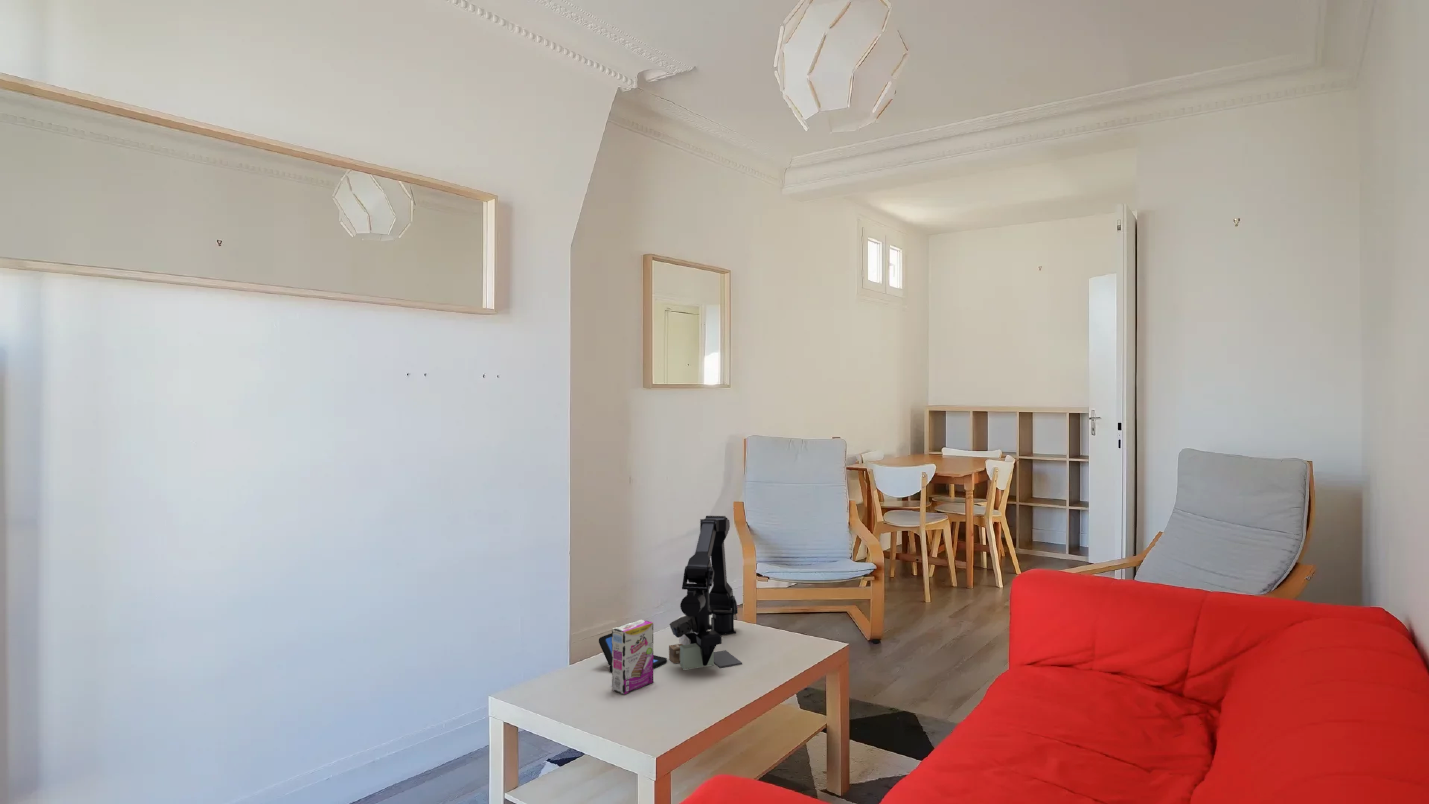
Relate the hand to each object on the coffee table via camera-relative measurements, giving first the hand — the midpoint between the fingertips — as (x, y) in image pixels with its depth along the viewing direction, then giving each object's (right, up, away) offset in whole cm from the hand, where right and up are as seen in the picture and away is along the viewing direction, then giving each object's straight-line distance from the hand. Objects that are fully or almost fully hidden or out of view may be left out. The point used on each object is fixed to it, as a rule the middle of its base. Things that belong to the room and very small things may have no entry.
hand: (700, 661), depth 217 cm
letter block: (-7, -1, +4) cm, 8 cm away
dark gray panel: (+6, -1, +4) cm, 8 cm away
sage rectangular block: (-1, -1, 0) cm, 1 cm away
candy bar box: (-17, -2, -16) cm, 23 cm away
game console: (-19, -2, +1) cm, 19 cm away
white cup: (-3, -1, +12) cm, 13 cm away
